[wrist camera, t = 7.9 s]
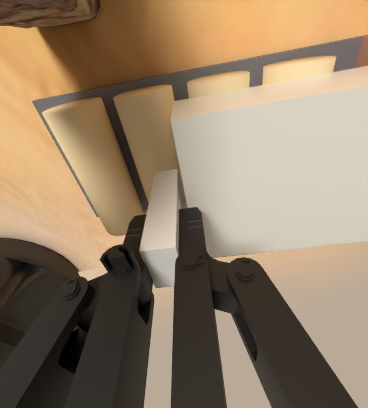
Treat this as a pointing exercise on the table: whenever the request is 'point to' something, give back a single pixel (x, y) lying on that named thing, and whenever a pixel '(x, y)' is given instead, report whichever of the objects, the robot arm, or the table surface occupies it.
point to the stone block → (46, 12)
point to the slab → (277, 163)
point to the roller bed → (158, 123)
